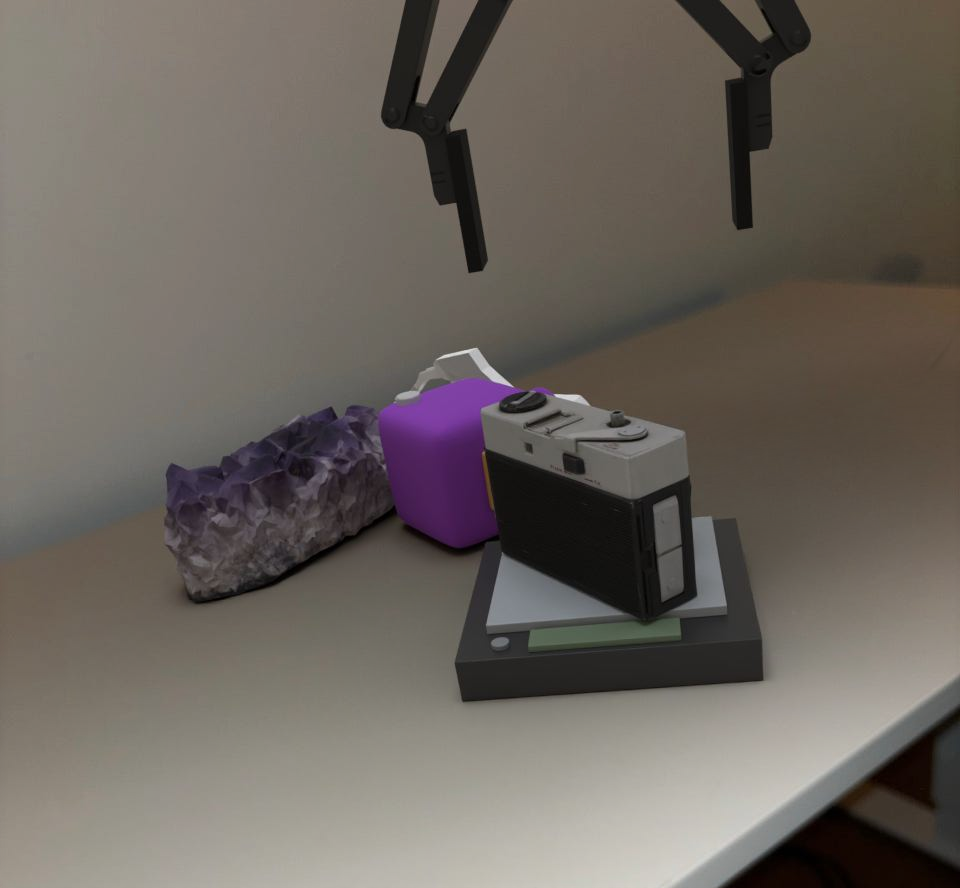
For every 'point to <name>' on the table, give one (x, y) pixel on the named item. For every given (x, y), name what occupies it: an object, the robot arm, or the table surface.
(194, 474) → the geode
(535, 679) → the scale
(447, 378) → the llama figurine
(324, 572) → the table surface
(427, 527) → the toy camera
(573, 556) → the camera
